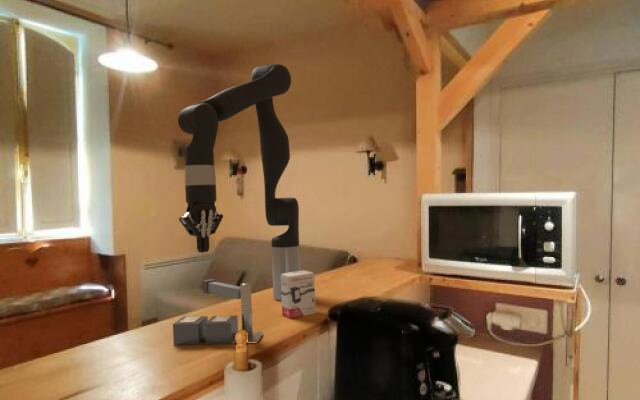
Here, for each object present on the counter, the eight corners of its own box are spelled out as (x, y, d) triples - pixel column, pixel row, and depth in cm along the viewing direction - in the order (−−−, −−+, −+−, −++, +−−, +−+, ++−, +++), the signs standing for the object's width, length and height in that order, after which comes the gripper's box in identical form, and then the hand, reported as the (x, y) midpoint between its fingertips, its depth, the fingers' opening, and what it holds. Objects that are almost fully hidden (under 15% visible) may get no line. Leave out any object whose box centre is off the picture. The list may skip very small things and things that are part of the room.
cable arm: (246, 299, 98) (245, 285, 98) (236, 301, 96) (235, 287, 96) (212, 290, 109) (212, 278, 109) (202, 292, 107) (202, 280, 107)
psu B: (184, 336, 100) (183, 315, 100) (208, 336, 99) (207, 315, 99) (173, 345, 94) (172, 323, 94) (199, 345, 93) (198, 322, 93)
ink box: (290, 319, 111) (288, 275, 111) (281, 315, 115) (279, 273, 115) (316, 313, 115) (314, 271, 115) (307, 309, 119) (305, 269, 119)
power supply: (214, 336, 99) (213, 315, 99) (238, 335, 99) (237, 314, 99) (205, 345, 93) (205, 322, 93) (231, 344, 93) (230, 321, 93)
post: (238, 335, 99) (236, 281, 99) (262, 334, 98) (260, 281, 98) (231, 344, 93) (229, 287, 93) (257, 343, 92) (255, 286, 92)
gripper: (189, 182, 96) (192, 256, 96) (230, 183, 107) (232, 249, 107) (169, 184, 100) (172, 255, 100) (210, 184, 111) (212, 248, 111)
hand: (203, 251), depth 103 cm, fingers closed
